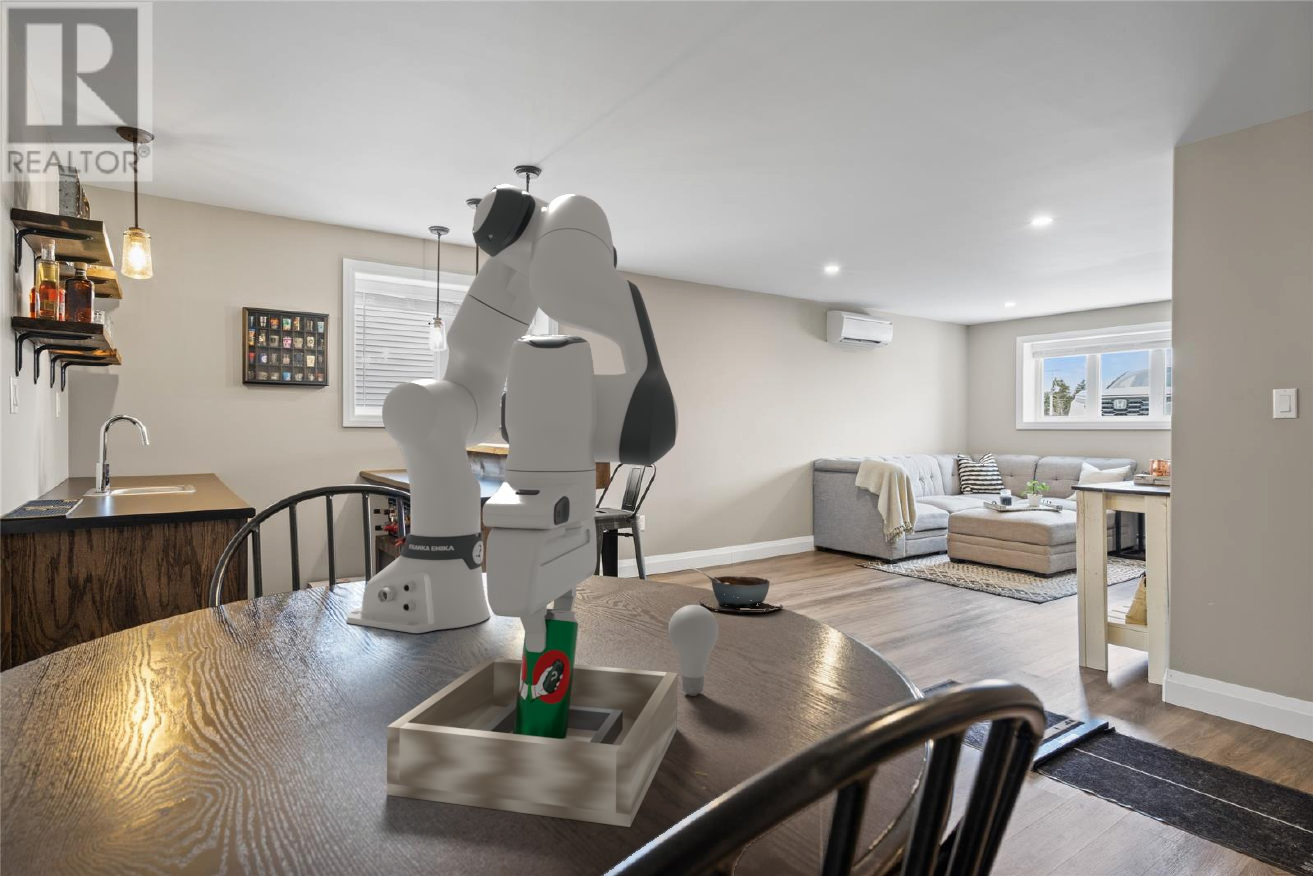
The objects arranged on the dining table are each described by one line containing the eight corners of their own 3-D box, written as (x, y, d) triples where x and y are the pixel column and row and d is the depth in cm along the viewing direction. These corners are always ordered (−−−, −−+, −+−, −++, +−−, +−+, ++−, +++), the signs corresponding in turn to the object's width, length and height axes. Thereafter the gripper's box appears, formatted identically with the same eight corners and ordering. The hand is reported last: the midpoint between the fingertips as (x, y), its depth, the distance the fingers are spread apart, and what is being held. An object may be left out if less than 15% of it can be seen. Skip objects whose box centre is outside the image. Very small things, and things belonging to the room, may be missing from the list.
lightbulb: (665, 687, 91) (666, 599, 91) (713, 686, 91) (714, 599, 91) (670, 706, 85) (671, 612, 85) (722, 704, 85) (722, 611, 85)
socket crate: (386, 794, 64) (387, 726, 63) (488, 709, 83) (488, 657, 83) (630, 827, 59) (630, 753, 59) (677, 728, 78) (677, 673, 78)
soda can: (577, 743, 68) (590, 613, 72) (542, 747, 64) (558, 608, 68) (535, 737, 71) (550, 611, 74) (500, 740, 67) (517, 607, 70)
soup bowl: (761, 625, 121) (761, 581, 121) (679, 612, 130) (679, 570, 130) (794, 607, 134) (795, 567, 134) (717, 596, 143) (718, 558, 142)
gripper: (557, 489, 82) (556, 612, 82) (473, 509, 62) (472, 671, 62) (611, 491, 80) (610, 615, 80) (543, 511, 60) (542, 677, 60)
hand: (549, 640), depth 71 cm, fingers closed on soda can, 5 cm apart
